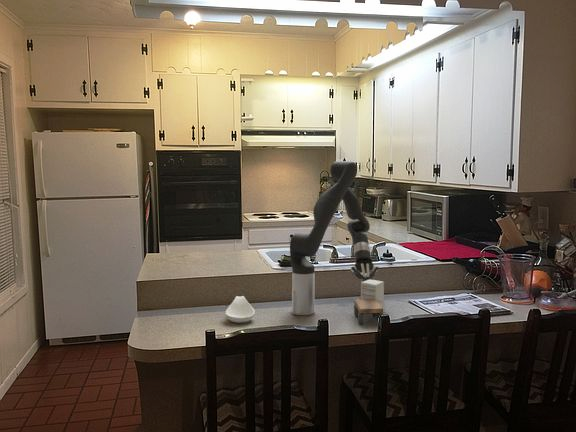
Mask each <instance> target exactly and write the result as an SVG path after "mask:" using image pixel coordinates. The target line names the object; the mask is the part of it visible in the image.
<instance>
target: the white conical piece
mask: <svg viewBox="0 0 576 432" xmlns="http://www.w3.org/2000/svg"><path fill="white" fill-rule="evenodd" d="M224 313H225V317H226V318H227V319H228V320H229V321H230V322H233V323H237V324H238V323H239V324H243V323H247V322H249V321H251V320H252V319H253V318H254V316H255V314H256V311H255V309H254V308H253V306H252V305H251V304H250V303H249V302H248V300H247V298H246V297H245V296H244V295H242V296H238V295H236V296H235V297H234V300H232V302H231V303H230V305H229V306H228V307H227V308H226V310H225V312H224Z"/></svg>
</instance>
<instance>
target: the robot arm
mask: <svg viewBox="0 0 576 432" xmlns="http://www.w3.org/2000/svg"><path fill="white" fill-rule="evenodd" d="M329 172H330V176H331V179H332V181H333V182H334V183H333V185H332V186H331V187H329V188H328V189H327V190H325V191H324V192H323V193H321V194H320V195H319V197H318V199H317V200H316V202H315V204H314V206H313V211H312V213H313V220H314V224H313V228H312V229H311V231H310V233H299V232H298V233H294V234H293V235H292V236H291V238H290V241H289V256H290V257H289V258H290V266H291V270H292V271H291V272H292V279H291V281H292V282H291V283H292V289H291V297H292V298H291V302H292V303H291V304H292V306H291V311H292V315H297V316H310V315H311V316H312V315H314V314H315V309H316V307H315V279H316V278H315V275H316V274H315V265H314V264H313V263H311V262H310V261H309V260H308V259H307V257H308V258H310V257H314V256H315V255H316V254H317V253H318V251H319V249H320V247H321V244H322V241H323V239H324V236H325V233H326V232H327V229H328V228H329V227H328V226H329V224H330V223H331V221H332V219H333V217H334V215H335V214H336V212H337V210H338V208H339V206H340V204H341V202H342V201H343V205H344V209H345V210H346V214H347V217H348V218H349V219H351V220H349V221H348V222H347V230H348V232H349V234H350V236H351V238H352V242H353V244H352V245H353V256H354V262H355V264H354V266H351V268H350V272H351V273H352V274H353V275H354V276H355V277H356V278H357V279H359V280H361V281H362V282H364V281H366V280H369V279H370V280H373V278H374V277H375V276H376V275H377V272H378V271H379V266H375V265H374V264H373V259H372V255H371V253H372V252H371V248H370V245H369V238H368V235H367V234H365V233H367V232H369V230H370V228H371V226H370V225H371V224H370V223H369V220H368V219H367V217H366V216H365V214H364V213H363V210H362V207H361V203H360V201H359V198H358V197H357V195H356V194H355V193H354V192H353V191H352V190H351V188H350V187H351V185H352V184H353V182H355V180H356V177H357V175H358V165H357V163H355V162H354V161H349V160H347V161H345V160H336V161H334V162H333V163H331V166H330V171H329ZM371 271H372V272H371Z"/></svg>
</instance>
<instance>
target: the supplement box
mask: <svg viewBox="0 0 576 432" xmlns="http://www.w3.org/2000/svg"><path fill="white" fill-rule="evenodd" d="M384 289H385V281H382V280H375V279H369V280H366V281H364V282H363V281H361V282H360V299H376V300H377V301H378V302H379V304H380V305H381V306H382V307H383V311H384V310H385V309H384V308H385V307H384V306H385V305H384V304H385V302H384V300H385V299H384V298H385V297H384V296H385V295H384V292H385V290H384ZM370 314H371V315H372V313H370Z"/></svg>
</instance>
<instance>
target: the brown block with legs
mask: <svg viewBox="0 0 576 432" xmlns="http://www.w3.org/2000/svg"><path fill="white" fill-rule="evenodd" d="M353 299H354V298H353ZM353 304H354V305H353V314H354V315H353V316H354V317H355V318H357V321H358V325H364V324H365V314H371V313H372V314H371V315H372V317H376V322H377V324H378V318H379V316H380V315H383V316H384V310H383V307H382V306H381V305H380V304H379V302H378V301H377V300H376V299H361V298H360V299H358V298H356V299H354V300H353Z"/></svg>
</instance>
